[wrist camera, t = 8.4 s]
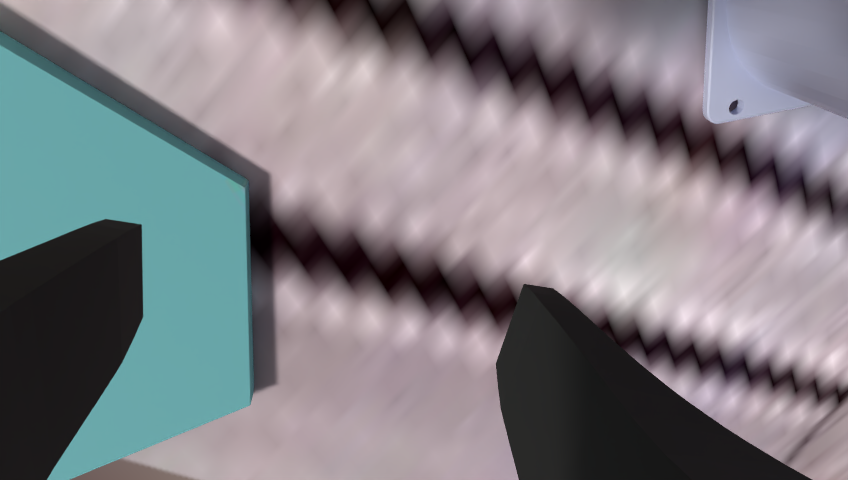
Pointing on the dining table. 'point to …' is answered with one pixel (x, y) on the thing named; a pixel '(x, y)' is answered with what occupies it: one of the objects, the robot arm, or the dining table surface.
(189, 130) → the dining table surface
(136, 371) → the plaque
